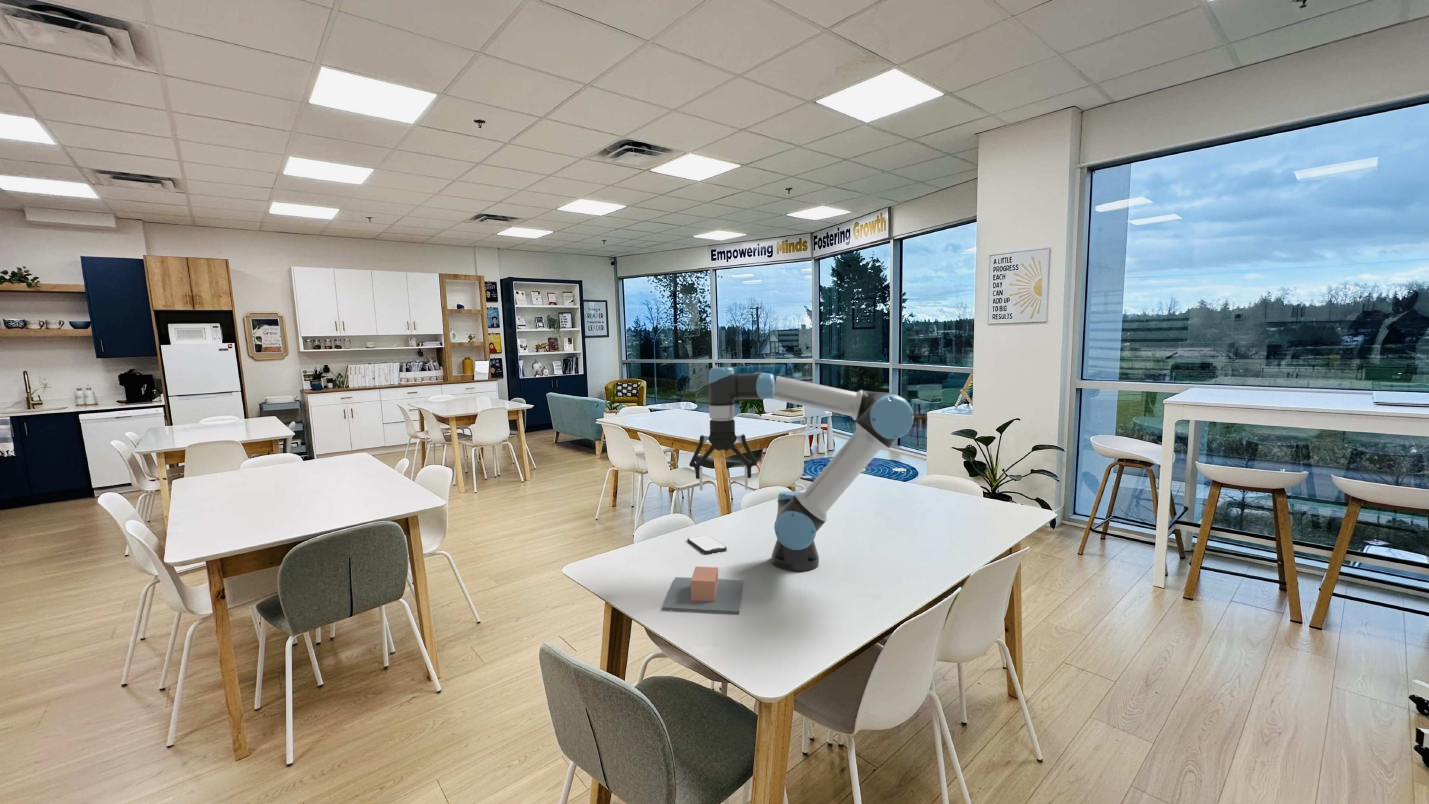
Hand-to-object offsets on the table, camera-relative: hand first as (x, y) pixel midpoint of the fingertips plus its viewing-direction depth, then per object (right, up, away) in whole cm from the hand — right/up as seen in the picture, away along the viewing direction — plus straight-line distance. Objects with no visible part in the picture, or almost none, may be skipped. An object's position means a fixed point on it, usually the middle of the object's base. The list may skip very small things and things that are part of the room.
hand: (723, 489), depth 168 cm
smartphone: (-6, -25, +27) cm, 37 cm away
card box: (-5, -27, -13) cm, 30 cm away
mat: (-5, -28, -13) cm, 31 cm away
